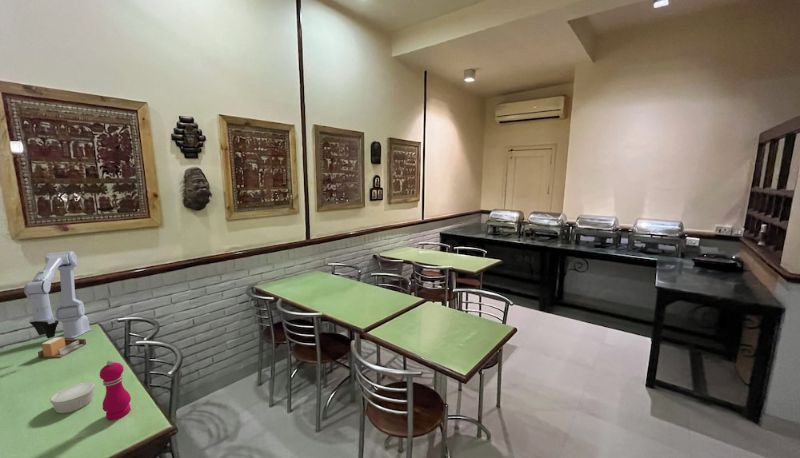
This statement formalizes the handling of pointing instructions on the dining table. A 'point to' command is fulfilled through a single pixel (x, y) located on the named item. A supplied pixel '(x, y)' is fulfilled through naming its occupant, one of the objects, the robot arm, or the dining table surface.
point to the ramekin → (73, 397)
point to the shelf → (66, 348)
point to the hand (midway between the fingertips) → (46, 335)
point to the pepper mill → (114, 391)
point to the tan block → (53, 346)
